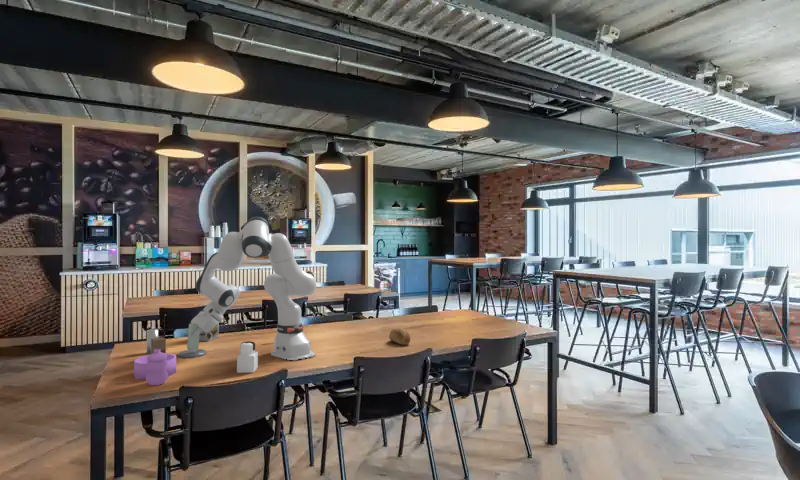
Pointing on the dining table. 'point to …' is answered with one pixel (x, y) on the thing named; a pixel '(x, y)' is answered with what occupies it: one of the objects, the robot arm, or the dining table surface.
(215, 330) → the coffee box
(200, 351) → the disc
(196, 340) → the sage block
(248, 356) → the medicine bottle
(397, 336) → the bread roll
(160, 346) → the walnut block
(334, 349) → the dining table surface
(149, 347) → the pewter tin
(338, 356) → the dining table surface
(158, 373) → the container set
